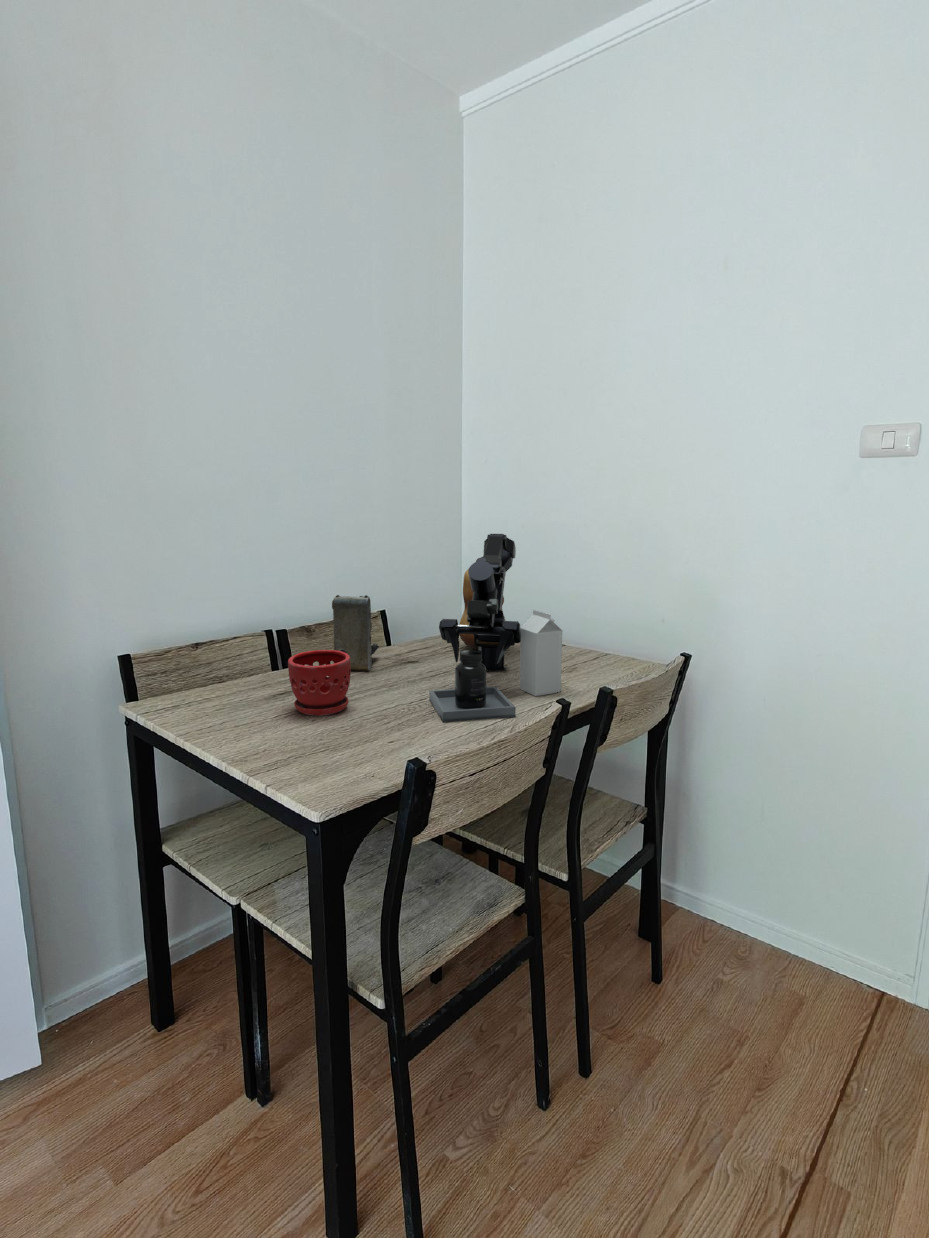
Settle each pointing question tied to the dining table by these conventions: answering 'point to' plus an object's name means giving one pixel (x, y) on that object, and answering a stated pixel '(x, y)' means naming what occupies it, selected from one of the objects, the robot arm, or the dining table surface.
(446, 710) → the charcoal tray
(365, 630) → the vintage camera
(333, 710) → the plant pot
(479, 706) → the supplement bottle
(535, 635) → the milk carton
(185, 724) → the dining table surface
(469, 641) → the butternut squash
